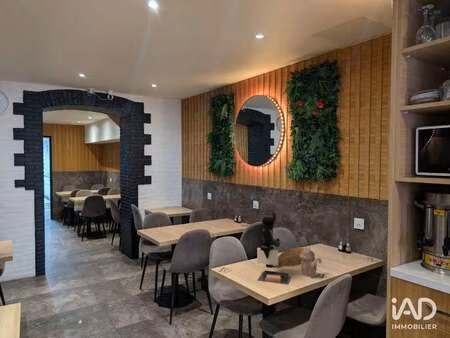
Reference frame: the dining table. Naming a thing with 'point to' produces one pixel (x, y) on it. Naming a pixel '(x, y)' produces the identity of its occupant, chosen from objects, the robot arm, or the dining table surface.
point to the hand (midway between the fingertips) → (267, 258)
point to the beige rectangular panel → (271, 259)
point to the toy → (308, 263)
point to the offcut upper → (273, 277)
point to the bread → (291, 257)
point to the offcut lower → (273, 281)
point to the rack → (284, 276)
